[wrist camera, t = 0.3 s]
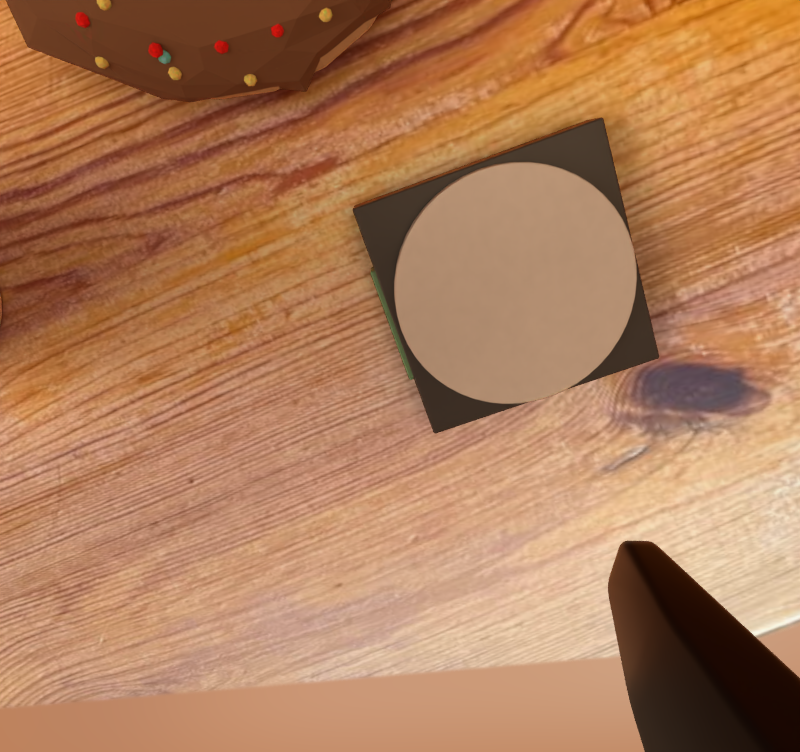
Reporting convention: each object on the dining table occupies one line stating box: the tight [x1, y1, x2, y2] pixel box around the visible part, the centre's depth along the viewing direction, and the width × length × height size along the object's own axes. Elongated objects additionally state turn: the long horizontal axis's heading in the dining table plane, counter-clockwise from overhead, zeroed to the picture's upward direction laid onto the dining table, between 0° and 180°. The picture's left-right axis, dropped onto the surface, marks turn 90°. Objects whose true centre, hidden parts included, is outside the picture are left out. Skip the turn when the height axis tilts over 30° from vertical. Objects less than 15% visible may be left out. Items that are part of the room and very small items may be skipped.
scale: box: [353, 118, 659, 433], centre depth 24 cm, size 9×9×2 cm
